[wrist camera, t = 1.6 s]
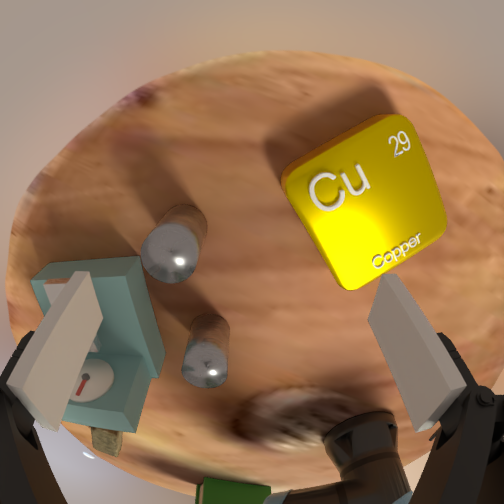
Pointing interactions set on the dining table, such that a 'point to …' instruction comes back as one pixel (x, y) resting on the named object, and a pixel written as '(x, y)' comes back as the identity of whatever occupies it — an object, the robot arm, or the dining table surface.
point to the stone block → (107, 440)
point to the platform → (52, 291)
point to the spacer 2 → (207, 352)
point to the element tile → (367, 199)
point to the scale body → (112, 343)
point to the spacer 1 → (175, 244)
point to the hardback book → (230, 492)
